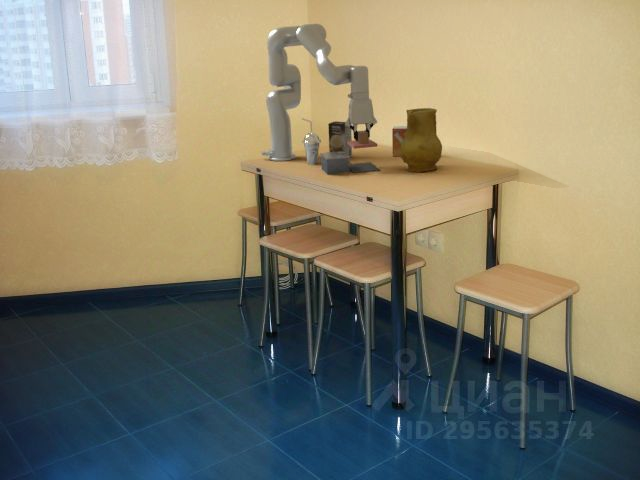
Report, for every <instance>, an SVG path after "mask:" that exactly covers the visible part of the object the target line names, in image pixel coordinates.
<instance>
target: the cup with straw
mask: <svg viewBox="0 0 640 480" xmlns="http://www.w3.org/2000/svg"><path fill="white" fill-rule="evenodd" d="M301 121H305V122H308V123H309V127H310V132H309V133H306V134H305V136H304V137H303V139H302V142H301V143H302V144H303V146H304V149H305V154H306V156H305V157H306V161H307V165H313V166H314V165H318V164H319V162H318V161H319V150H320V143H322V141H321V139H320V138H319V137H320V136H319V135H318V134H317V133H315V132H313V123H312V121H311V120H309V119H306V118H301Z"/></svg>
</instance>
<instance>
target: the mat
mask: <svg viewBox="0 0 640 480" xmlns="http://www.w3.org/2000/svg"><path fill="white" fill-rule="evenodd" d="M349 167H350V173H353V174H361V173H370V172H371V173H372V172H381V169H380V168H379V167H377V166H376V165H375V164H373V162H361V163H360V162H359V163H349Z"/></svg>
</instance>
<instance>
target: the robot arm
mask: <svg viewBox="0 0 640 480" xmlns="http://www.w3.org/2000/svg"><path fill="white" fill-rule="evenodd" d="M326 30H327V29H325V27H324V26H323V25H322V24H320V23H308V24H307V23H306V24H303V25H292V26H291V25H290V26H280V27H277V28H274V29H273V30H271V31H270V33H269V34H268V36H267V40H266V45H267V51H268V52H267V54H268V81H269V83H270V85H271V86H272V87H274V88H281V89H276V90H272V91H270V92H269V93H268V94H267V96H266V100H265V103H266V108H267V111H268V117H269V129H270V142H271V143H270V144H271V145H270V146H271V148H270V150H267V151H263V150H262V151H261V156H265V157H267V156H268V160H270V161H275V162H279V161H280V162H283V161H291V160H294V159H296V158H297V156H296V154H295V153H293V142H292V127H291V126H292V125H291V117H290V116H289V113H288V111H287V110H292V109H295V108H297V107H298V106H299V105H300V104H301V100H302V79H301V76H302V75H301V71H300V70H299V68H298V66H297V65H295V64H294V63H293V64H292V63H288V53H287V51H286V49H285V48H286V47H287V48H288V47H297V46H298V47H299V46H303V48H304V49H306V50H307V51H308V52H309V54H310V55H311V56H312V57H313V58H314V59H315V64H316V68H317V70H318V72H319V74H320V75H321V76H322V77H323V78H324V79H325V80H326V81H327V82H328V83H329V84H331V85H333V86H340V85H346V84H347V85H348V84H350V93H349V94H347V98H348V99H350V100H349V104H348V117H347V120H346V121H345V122H346V123H345V125H346V126H348V127H350V128H351V131H353V132H352V133H353V139H354V141H358V132H357V131H358V125H365V130H364V131H366V132H368V140H369V139H370V137H371V133H370V132H371V129H372V128H373V127H374V126H375V125H376V124H377V123H378V120H377V118H376V117H375V116H374V114H375V113H374V109H373V108H374V107H373V101H372V99H371V98H370V88H369V85H370V82H369V67H368V66H367V65H352V64H346V65H339V66H336V65H335V64H334V63H333V62H332V61H331V59H329V57H328V56H329V55H330V54H331V51H332V46H331V44H330V43H329V42H328V41H327V40H326V39H327V31H326ZM282 87H284V88H282ZM349 123H351V125H350V124H349Z"/></svg>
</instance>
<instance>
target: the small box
mask: <svg viewBox="0 0 640 480" xmlns="http://www.w3.org/2000/svg"><path fill="white" fill-rule="evenodd" d="M391 131H392V134H391V135H392V144H391V145H392V146H391V147H392V157H393V158H394V157H400V158H402V157H401V144H402V142H403V140H404V138H405V135H406V131H407V125H405V126H404V125H402V126H399V125H398V126H393V127H392V130H391Z"/></svg>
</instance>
